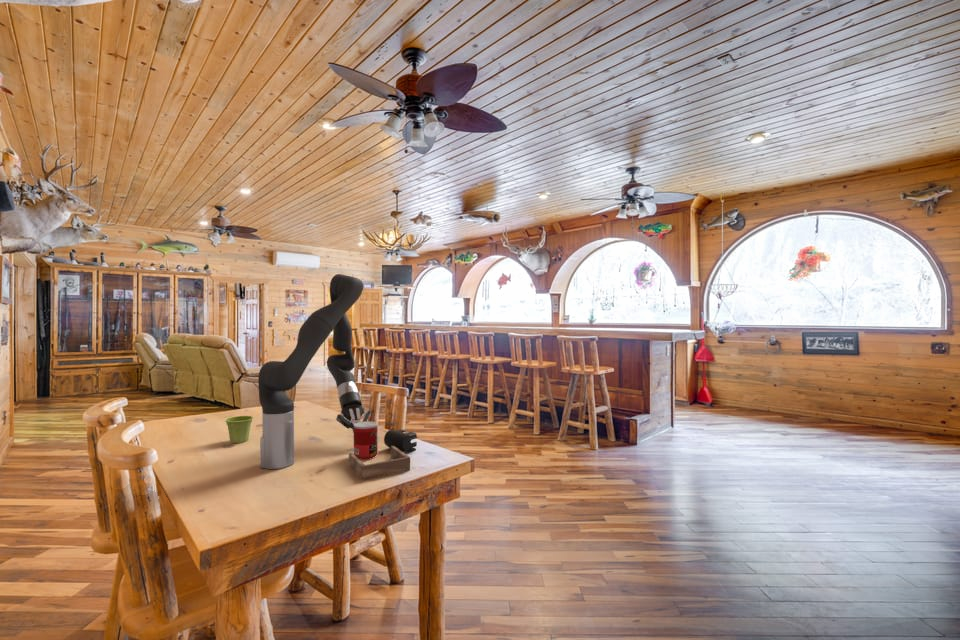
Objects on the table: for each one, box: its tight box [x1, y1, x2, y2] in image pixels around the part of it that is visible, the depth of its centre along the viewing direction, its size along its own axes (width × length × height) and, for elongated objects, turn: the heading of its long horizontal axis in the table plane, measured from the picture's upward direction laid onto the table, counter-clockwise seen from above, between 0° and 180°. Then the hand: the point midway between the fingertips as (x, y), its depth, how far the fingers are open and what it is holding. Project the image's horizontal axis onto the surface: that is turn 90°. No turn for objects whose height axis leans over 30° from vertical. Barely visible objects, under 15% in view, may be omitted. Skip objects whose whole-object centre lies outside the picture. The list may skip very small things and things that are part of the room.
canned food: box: [353, 420, 379, 460], centre depth 147 cm, size 8×8×11 cm
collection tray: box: [348, 446, 411, 481], centre depth 136 cm, size 14×15×4 cm
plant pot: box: [224, 415, 254, 444], centre depth 163 cm, size 9×9×9 cm
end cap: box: [383, 429, 418, 454], centre depth 153 cm, size 10×7×7 cm
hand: (359, 436), depth 153 cm, fingers closed
